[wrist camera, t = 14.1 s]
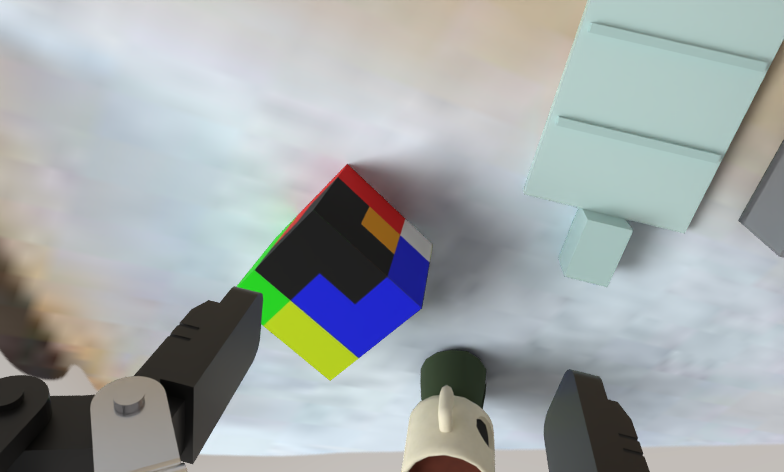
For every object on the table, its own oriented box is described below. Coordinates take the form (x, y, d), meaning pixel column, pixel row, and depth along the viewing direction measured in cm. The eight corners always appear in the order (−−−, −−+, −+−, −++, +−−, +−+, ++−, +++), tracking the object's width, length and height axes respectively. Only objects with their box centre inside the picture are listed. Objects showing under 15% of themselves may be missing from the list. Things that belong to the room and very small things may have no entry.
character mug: (492, 415, 52) (496, 539, 40) (420, 412, 53) (405, 532, 41) (490, 324, 47) (495, 433, 35) (412, 323, 48) (392, 429, 37)
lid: (613, -76, 33) (626, -83, 30) (810, -33, 33) (843, -36, 30) (504, 244, 44) (506, 262, 41) (653, 281, 43) (665, 302, 40)
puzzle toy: (432, 244, 45) (422, 308, 36) (356, 309, 49) (330, 380, 40) (347, 163, 43) (313, 209, 34) (275, 238, 47) (228, 296, 38)
